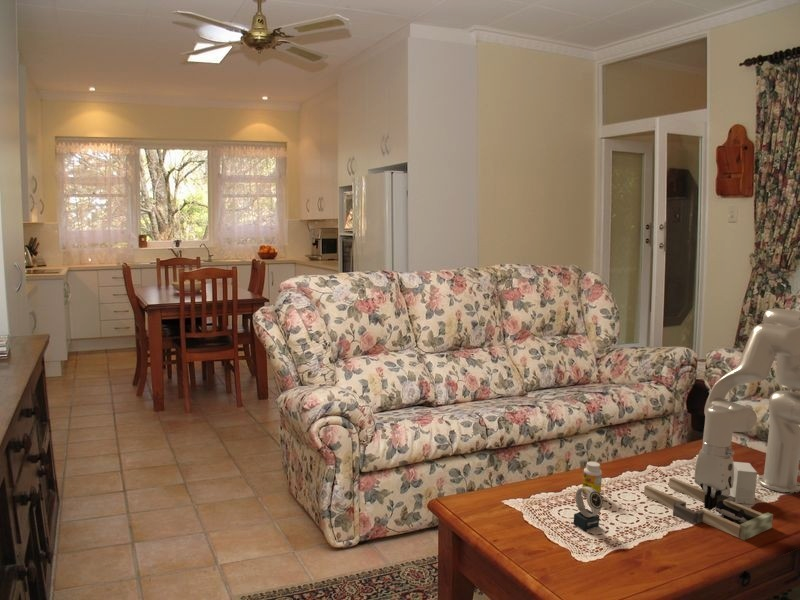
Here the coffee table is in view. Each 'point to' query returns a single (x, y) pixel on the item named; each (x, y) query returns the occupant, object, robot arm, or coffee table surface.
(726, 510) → the gaming controller
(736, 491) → the small box
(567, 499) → the coffee table surface
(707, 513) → the channel
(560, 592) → the coffee table surface
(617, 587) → the coffee table surface
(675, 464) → the coffee table surface
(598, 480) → the supplement bottle
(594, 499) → the watch
